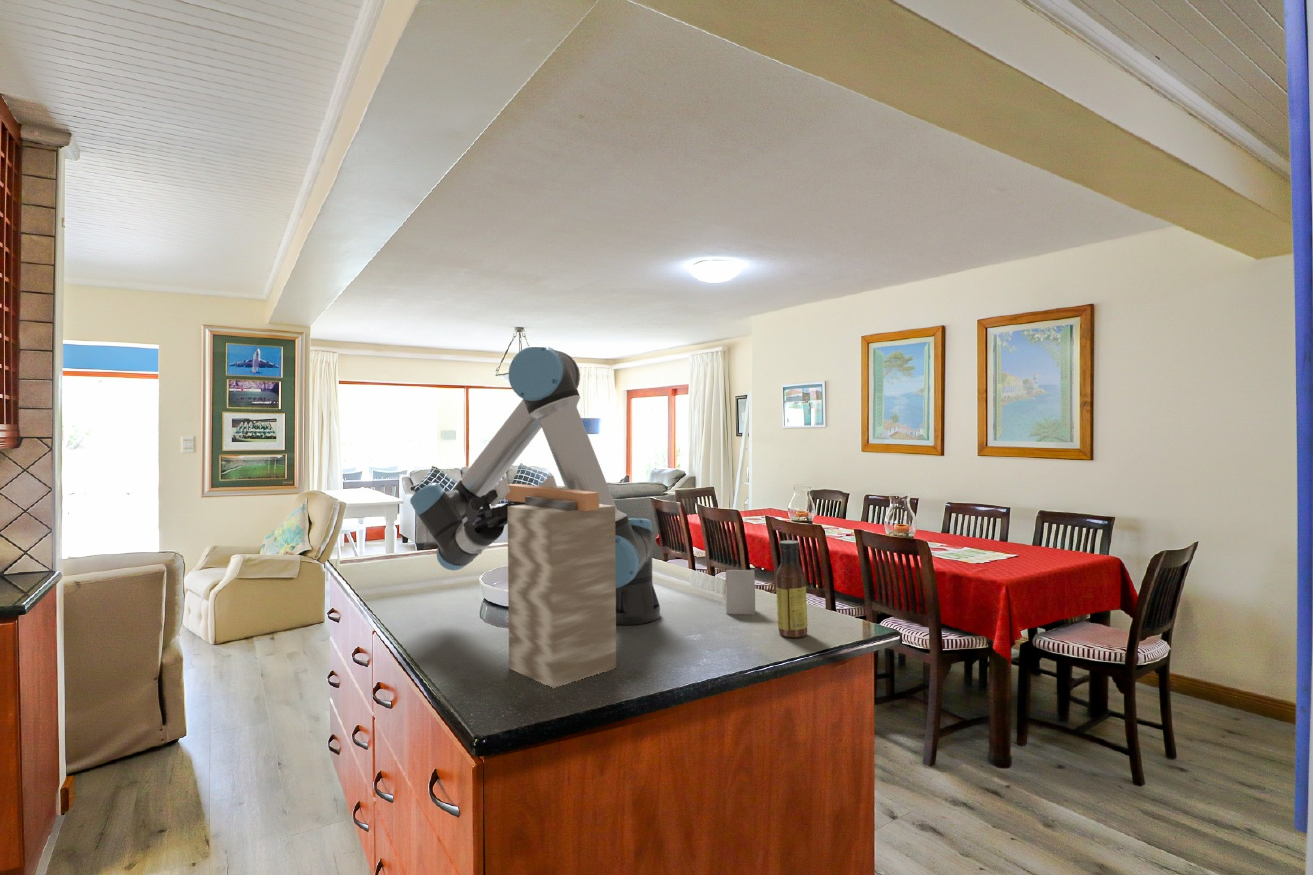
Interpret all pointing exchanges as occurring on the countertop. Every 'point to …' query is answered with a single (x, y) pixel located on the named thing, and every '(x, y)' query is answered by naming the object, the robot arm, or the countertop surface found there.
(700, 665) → the countertop surface
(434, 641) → the countertop surface
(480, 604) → the countertop surface
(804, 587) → the sauce bottle
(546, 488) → the orange bar
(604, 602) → the grey-brown tall block
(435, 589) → the countertop surface
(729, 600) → the light grey block
